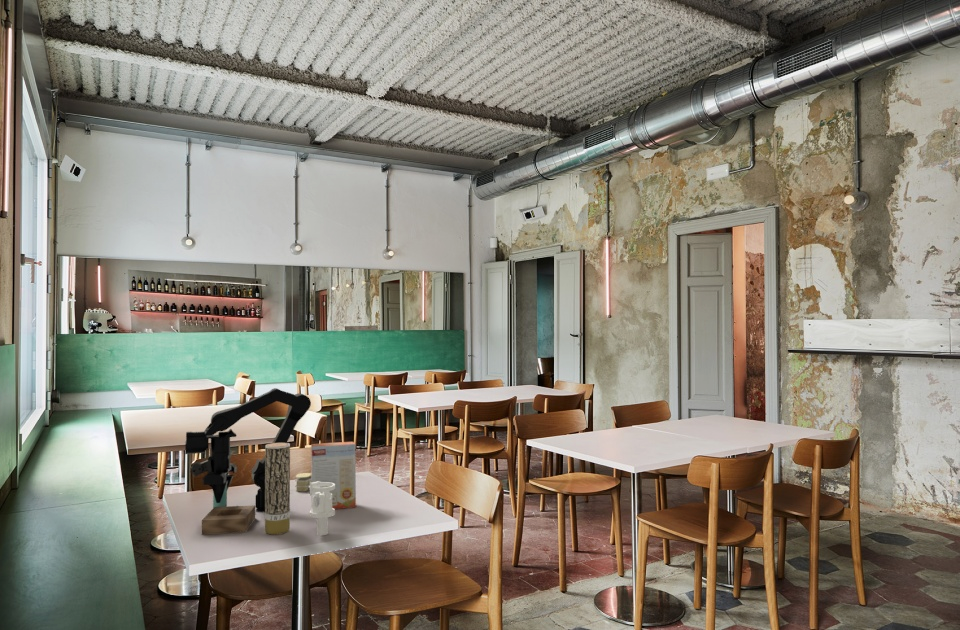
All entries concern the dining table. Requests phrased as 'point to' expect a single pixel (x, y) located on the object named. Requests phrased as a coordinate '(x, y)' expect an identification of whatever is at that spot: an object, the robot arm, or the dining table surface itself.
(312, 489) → the white plastic upright piece
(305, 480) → the stacked layers on plate
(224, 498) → the peg
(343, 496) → the cracker box
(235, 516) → the socket block
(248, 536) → the dining table surface
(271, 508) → the paper tube
